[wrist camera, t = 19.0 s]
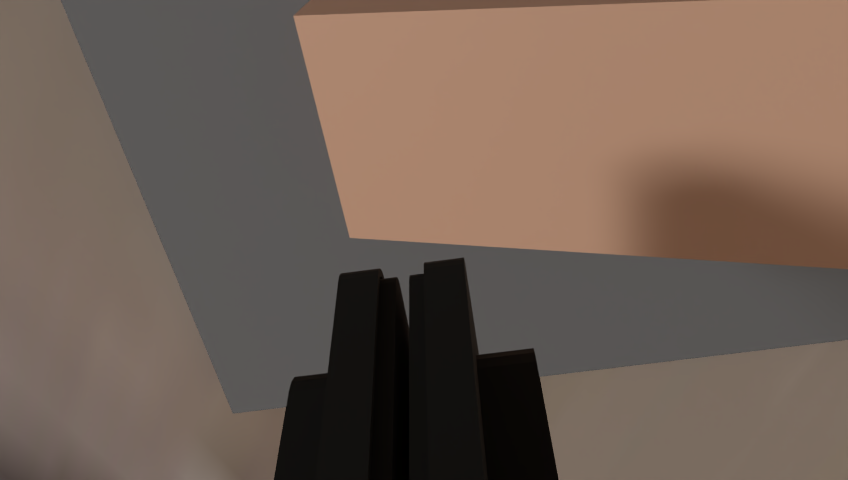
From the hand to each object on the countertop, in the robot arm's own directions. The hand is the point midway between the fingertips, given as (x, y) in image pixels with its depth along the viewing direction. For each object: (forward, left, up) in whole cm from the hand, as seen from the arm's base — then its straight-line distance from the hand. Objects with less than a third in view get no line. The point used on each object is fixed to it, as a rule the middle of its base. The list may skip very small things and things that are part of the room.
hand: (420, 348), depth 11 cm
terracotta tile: (0, +2, -7) cm, 7 cm away
